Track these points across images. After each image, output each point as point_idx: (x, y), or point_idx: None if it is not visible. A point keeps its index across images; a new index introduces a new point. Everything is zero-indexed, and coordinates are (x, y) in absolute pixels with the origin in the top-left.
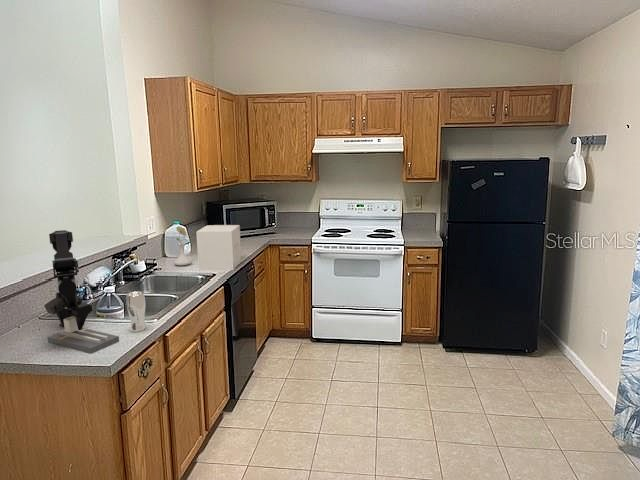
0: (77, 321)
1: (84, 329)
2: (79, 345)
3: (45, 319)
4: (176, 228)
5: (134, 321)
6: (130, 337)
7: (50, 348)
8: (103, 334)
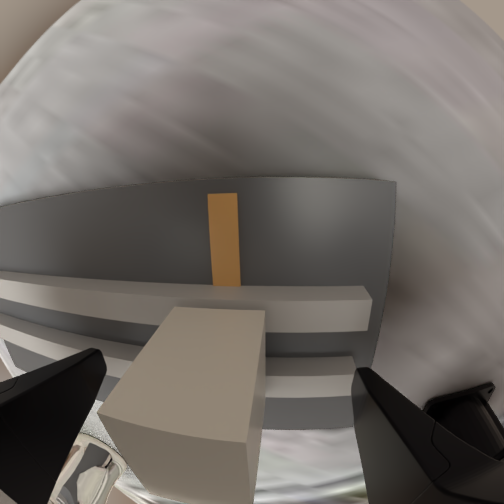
0: (10, 386)
1: None
2: (11, 205)
3: None
4: None
5: (65, 464)
6: None
7: (225, 99)
8: None
